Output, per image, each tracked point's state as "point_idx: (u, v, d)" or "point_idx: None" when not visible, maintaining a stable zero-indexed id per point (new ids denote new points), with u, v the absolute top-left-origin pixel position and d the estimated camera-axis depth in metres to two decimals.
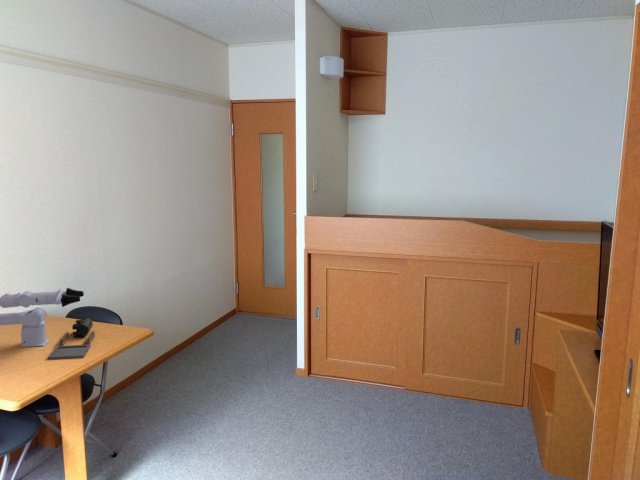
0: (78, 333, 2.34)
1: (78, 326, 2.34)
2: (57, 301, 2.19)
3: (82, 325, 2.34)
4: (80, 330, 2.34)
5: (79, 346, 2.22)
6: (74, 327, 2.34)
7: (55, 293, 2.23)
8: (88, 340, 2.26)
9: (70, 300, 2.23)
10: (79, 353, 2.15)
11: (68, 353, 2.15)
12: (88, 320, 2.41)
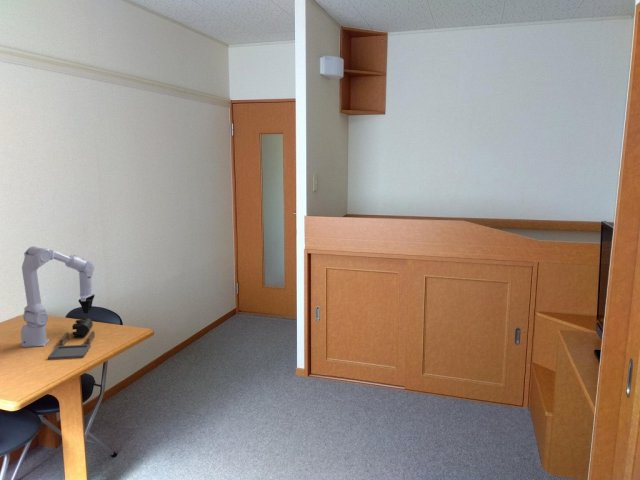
0: (78, 333, 2.34)
1: (78, 326, 2.34)
2: (83, 299, 2.40)
3: (82, 325, 2.34)
4: (80, 330, 2.34)
5: (79, 346, 2.22)
6: (74, 327, 2.34)
7: (91, 291, 2.45)
8: (88, 340, 2.26)
9: (84, 305, 2.44)
10: (79, 353, 2.15)
11: (68, 353, 2.15)
12: (88, 320, 2.41)
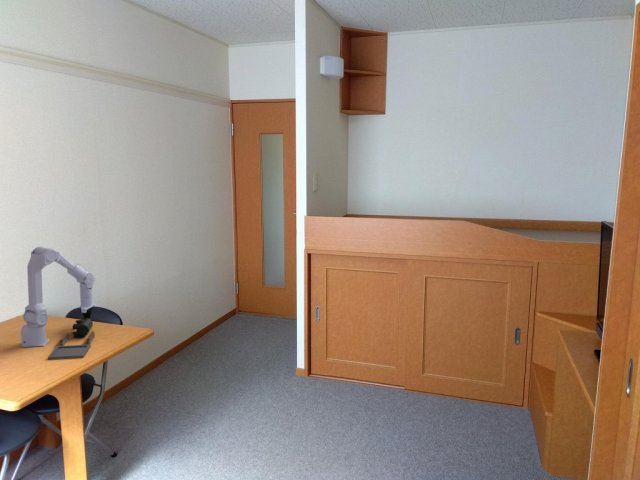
0: (78, 333, 2.34)
1: (78, 326, 2.34)
2: (84, 310, 2.40)
3: (82, 325, 2.34)
4: (80, 330, 2.34)
5: (79, 346, 2.22)
6: (74, 327, 2.34)
7: (91, 303, 2.46)
8: (88, 340, 2.26)
9: (86, 315, 2.47)
10: (79, 353, 2.15)
11: (68, 353, 2.15)
12: (88, 320, 2.41)
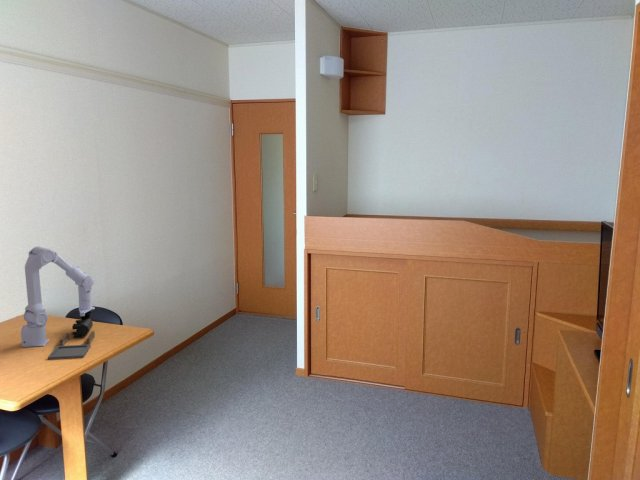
0: (78, 333, 2.34)
1: (78, 326, 2.34)
2: (82, 313, 2.38)
3: (82, 325, 2.34)
4: (80, 330, 2.34)
5: (79, 346, 2.22)
6: (74, 327, 2.33)
7: (90, 306, 2.43)
8: (88, 340, 2.26)
9: (84, 319, 2.44)
10: (79, 353, 2.15)
11: (68, 353, 2.15)
12: (88, 320, 2.41)
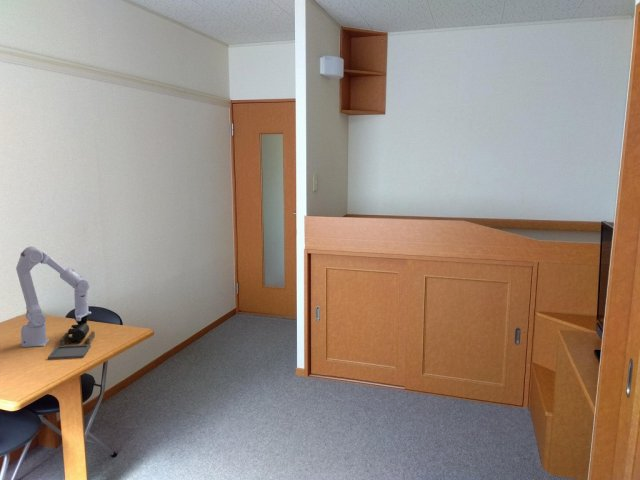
0: (74, 338, 2.27)
1: (74, 331, 2.27)
2: (79, 318, 2.30)
3: (78, 330, 2.27)
4: (76, 335, 2.27)
5: (79, 346, 2.22)
6: (70, 332, 2.26)
7: (86, 310, 2.36)
8: (88, 340, 2.26)
9: None
10: (79, 353, 2.15)
11: (68, 353, 2.15)
12: (84, 325, 2.34)
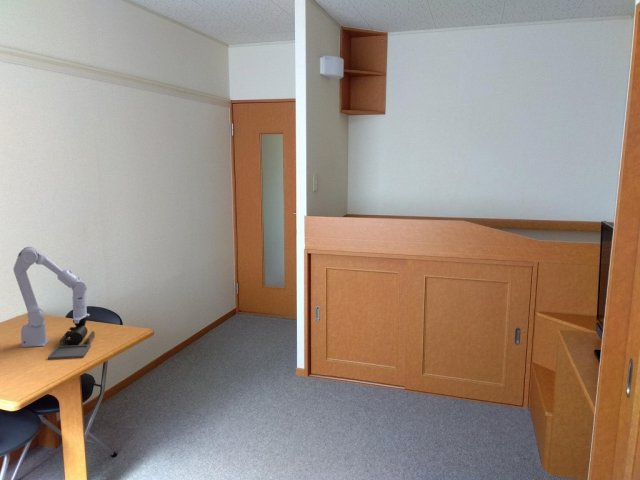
0: (71, 341, 2.24)
1: (71, 334, 2.23)
2: (77, 321, 2.27)
3: (76, 333, 2.23)
4: (74, 338, 2.24)
5: (79, 346, 2.22)
6: (67, 335, 2.23)
7: (84, 312, 2.33)
8: (88, 340, 2.26)
9: None
10: (79, 353, 2.15)
11: (68, 353, 2.15)
12: (82, 327, 2.31)
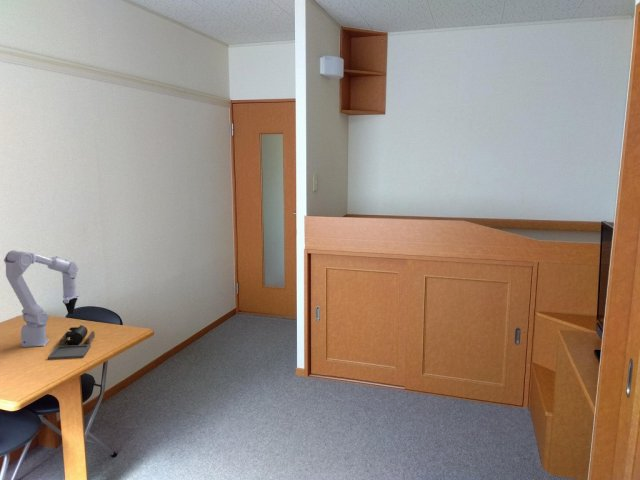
0: (71, 341, 2.24)
1: (71, 334, 2.23)
2: (66, 300, 2.32)
3: (76, 333, 2.23)
4: (74, 338, 2.24)
5: (79, 346, 2.22)
6: (67, 335, 2.23)
7: (74, 293, 2.38)
8: (88, 340, 2.26)
9: (69, 306, 2.39)
10: (79, 353, 2.15)
11: (68, 353, 2.15)
12: (82, 327, 2.31)
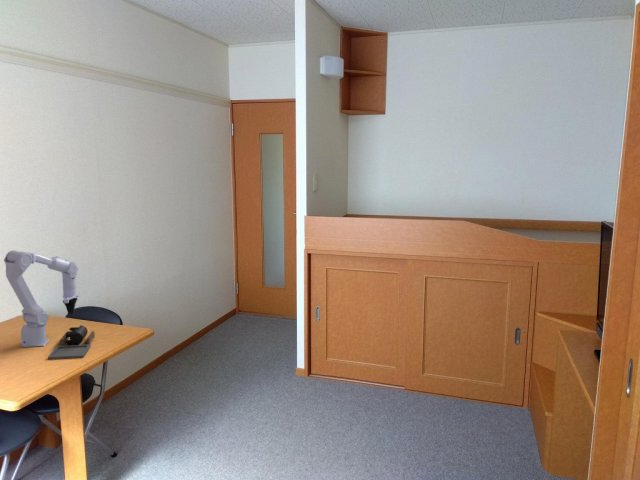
0: (71, 341, 2.24)
1: (71, 334, 2.23)
2: (66, 300, 2.32)
3: (76, 333, 2.23)
4: (74, 338, 2.24)
5: (79, 346, 2.22)
6: (67, 335, 2.23)
7: (74, 293, 2.38)
8: (88, 340, 2.26)
9: (69, 306, 2.39)
10: (79, 353, 2.15)
11: (68, 353, 2.15)
12: (82, 327, 2.31)
